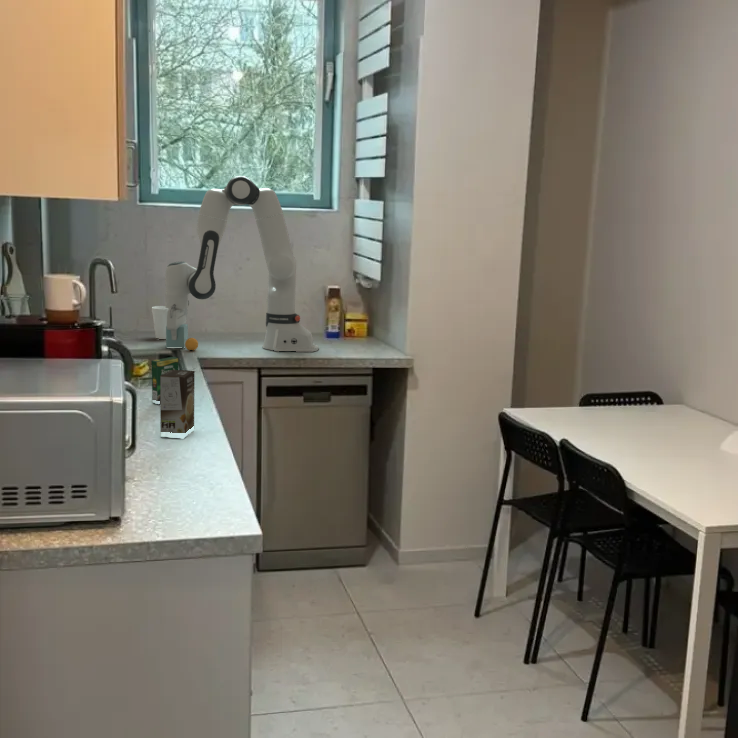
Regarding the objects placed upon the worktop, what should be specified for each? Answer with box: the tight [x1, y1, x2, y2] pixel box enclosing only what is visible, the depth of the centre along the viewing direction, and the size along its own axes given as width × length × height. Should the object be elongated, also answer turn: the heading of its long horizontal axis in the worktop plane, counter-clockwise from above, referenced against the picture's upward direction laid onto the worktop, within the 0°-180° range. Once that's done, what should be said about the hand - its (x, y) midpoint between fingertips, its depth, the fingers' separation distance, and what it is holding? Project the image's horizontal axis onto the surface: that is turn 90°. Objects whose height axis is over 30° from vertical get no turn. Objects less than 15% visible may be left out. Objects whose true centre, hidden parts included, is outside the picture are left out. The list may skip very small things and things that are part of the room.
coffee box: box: [159, 369, 196, 433], centre depth 228 cm, size 9×6×16 cm
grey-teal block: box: [165, 323, 189, 348], centre depth 354 cm, size 7×7×9 cm
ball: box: [185, 337, 199, 351], centre depth 348 cm, size 5×5×5 cm
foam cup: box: [151, 305, 169, 340], centre depth 373 cm, size 10×9×13 cm
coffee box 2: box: [150, 356, 179, 401], centre depth 262 cm, size 8×3×13 cm, turn 139°
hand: (176, 338), depth 354 cm, fingers closed on grey-teal block, 7 cm apart
